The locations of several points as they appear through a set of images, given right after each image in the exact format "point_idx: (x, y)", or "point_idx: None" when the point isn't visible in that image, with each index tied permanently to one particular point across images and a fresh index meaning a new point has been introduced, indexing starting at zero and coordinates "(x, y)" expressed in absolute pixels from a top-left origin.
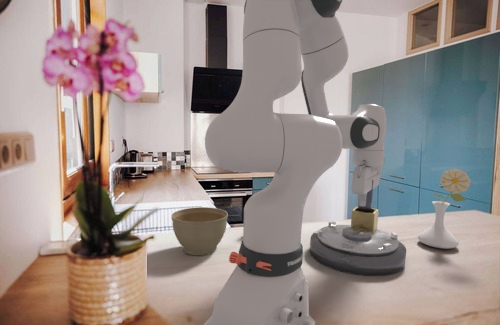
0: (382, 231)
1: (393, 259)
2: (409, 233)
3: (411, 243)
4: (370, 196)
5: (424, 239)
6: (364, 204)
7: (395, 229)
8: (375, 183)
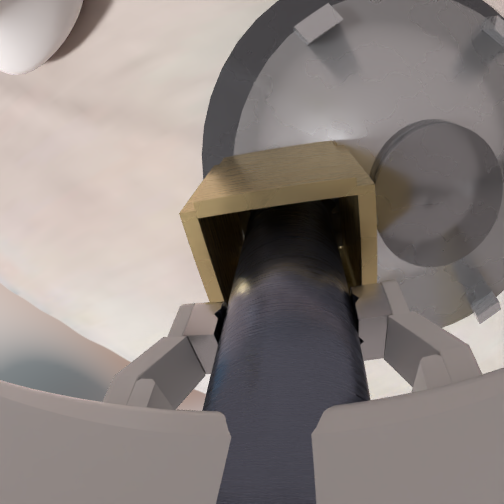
0: (250, 114)
1: (492, 9)
2: (5, 133)
3: (83, 64)
4: (324, 331)
5: (68, 16)
6: (399, 293)
7: (10, 185)
8: (77, 444)
